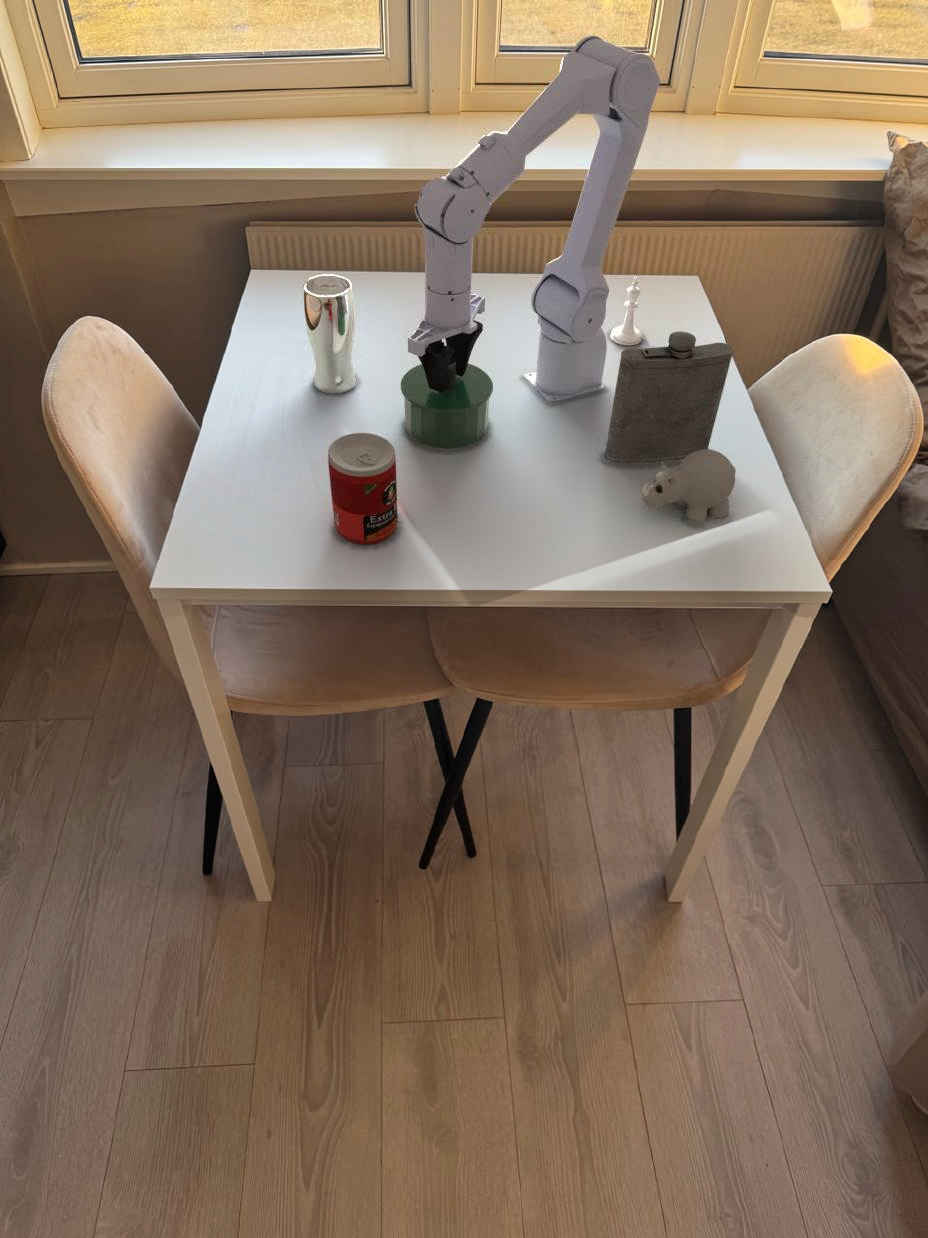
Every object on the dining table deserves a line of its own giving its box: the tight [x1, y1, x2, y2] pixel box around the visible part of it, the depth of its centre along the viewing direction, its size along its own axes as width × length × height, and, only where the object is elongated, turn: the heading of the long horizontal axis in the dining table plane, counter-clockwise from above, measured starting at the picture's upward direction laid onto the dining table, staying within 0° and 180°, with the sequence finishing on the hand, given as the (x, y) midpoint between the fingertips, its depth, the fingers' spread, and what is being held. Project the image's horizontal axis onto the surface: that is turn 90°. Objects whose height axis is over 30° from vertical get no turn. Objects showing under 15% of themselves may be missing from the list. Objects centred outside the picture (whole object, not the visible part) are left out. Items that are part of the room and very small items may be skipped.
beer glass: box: [302, 274, 357, 395], centre depth 131 cm, size 7×7×15 cm
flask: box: [604, 330, 734, 464], centre depth 119 cm, size 4×14×18 cm, turn 100°
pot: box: [403, 396, 490, 450], centre depth 127 cm, size 11×12×6 cm
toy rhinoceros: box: [641, 448, 736, 524], centre depth 114 cm, size 7×12×8 cm, turn 105°
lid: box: [400, 357, 494, 413], centre depth 123 cm, size 12×12×5 cm
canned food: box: [327, 432, 398, 545], centre depth 110 cm, size 8×8×11 cm
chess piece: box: [610, 276, 642, 346], centre depth 144 cm, size 5×5×10 cm
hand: (446, 381), depth 124 cm, fingers open, 4 cm apart
